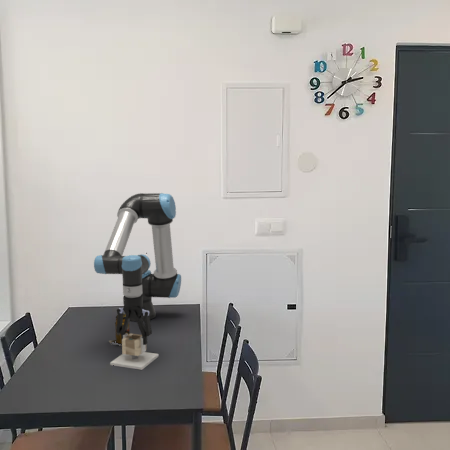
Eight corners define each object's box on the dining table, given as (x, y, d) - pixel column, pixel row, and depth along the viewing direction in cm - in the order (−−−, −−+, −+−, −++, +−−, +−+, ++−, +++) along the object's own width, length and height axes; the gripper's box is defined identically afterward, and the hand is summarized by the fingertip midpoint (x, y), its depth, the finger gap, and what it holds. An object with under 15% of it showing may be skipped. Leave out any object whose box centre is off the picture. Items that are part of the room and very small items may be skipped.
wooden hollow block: (130, 347, 214) (130, 333, 213) (146, 349, 212) (146, 334, 211) (122, 353, 207) (121, 338, 206) (138, 355, 205) (137, 340, 204)
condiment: (133, 342, 230) (132, 316, 228) (114, 346, 225) (113, 319, 223) (126, 337, 236) (125, 312, 234) (108, 341, 231) (107, 315, 229)
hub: (128, 352, 219) (127, 335, 218) (158, 356, 214) (158, 339, 213) (110, 365, 206) (109, 347, 205) (142, 369, 201) (141, 352, 200)
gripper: (105, 295, 206) (107, 351, 209) (151, 299, 200) (153, 357, 203) (115, 290, 213) (117, 344, 216) (160, 294, 207) (161, 350, 210)
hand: (134, 350), depth 209 cm, fingers closed on wooden hollow block, 7 cm apart
